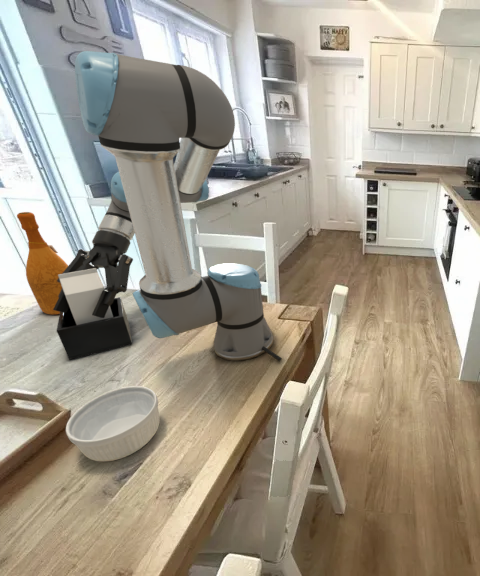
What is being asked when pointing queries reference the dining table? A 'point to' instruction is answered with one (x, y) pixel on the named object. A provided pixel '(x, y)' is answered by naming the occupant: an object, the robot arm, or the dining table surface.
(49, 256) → the wine bottle
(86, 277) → the milk carton
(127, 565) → the dining table surface
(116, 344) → the open black box
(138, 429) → the ramekin
